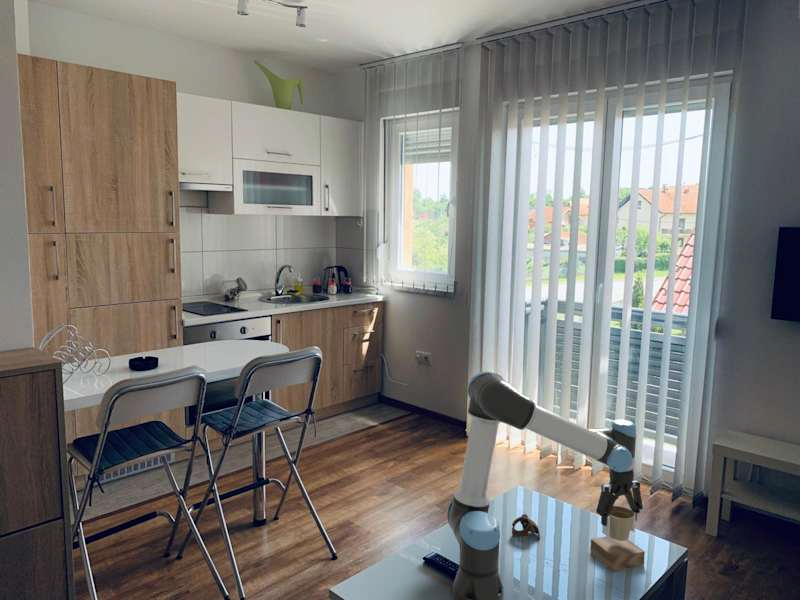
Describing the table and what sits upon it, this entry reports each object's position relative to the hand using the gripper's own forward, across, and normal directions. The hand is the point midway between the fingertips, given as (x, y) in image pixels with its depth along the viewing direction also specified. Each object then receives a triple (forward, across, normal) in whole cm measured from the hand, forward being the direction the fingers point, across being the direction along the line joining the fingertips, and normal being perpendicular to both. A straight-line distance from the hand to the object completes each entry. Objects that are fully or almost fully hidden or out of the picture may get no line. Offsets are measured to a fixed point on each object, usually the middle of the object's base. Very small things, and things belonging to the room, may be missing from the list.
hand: (618, 531), depth 198 cm
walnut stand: (+10, 0, 0) cm, 10 cm away
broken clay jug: (+10, -22, +22) cm, 33 cm away
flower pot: (+2, 0, 0) cm, 2 cm away
